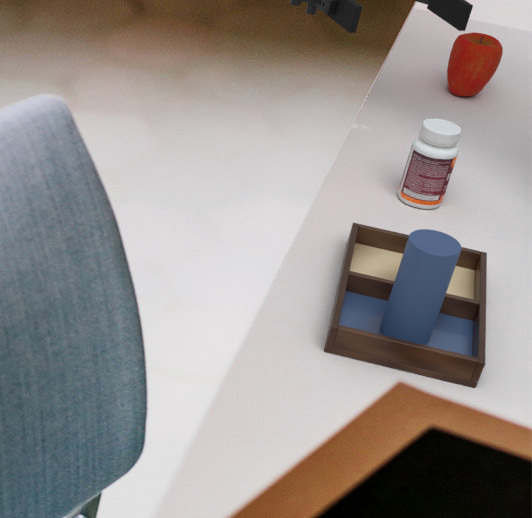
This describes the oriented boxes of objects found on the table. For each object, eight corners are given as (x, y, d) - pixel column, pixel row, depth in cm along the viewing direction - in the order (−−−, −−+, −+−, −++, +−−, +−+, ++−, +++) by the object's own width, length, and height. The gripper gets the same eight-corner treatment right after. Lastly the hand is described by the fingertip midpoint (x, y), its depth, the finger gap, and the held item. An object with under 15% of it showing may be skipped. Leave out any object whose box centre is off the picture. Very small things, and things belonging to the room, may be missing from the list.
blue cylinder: (431, 325, 106) (462, 236, 100) (428, 351, 103) (461, 260, 97) (382, 313, 107) (410, 224, 101) (378, 338, 103) (407, 248, 98)
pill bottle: (447, 211, 126) (472, 137, 121) (404, 209, 125) (427, 134, 120) (433, 190, 130) (456, 117, 124) (391, 187, 129) (413, 114, 124)
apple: (483, 108, 150) (503, 49, 145) (435, 95, 151) (453, 37, 147) (490, 91, 154) (510, 34, 150) (443, 79, 156) (461, 22, 151)
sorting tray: (478, 275, 116) (487, 252, 114) (475, 388, 100) (485, 363, 99) (346, 245, 118) (353, 222, 116) (323, 351, 102) (331, 326, 101)
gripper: (398, -17, 146) (498, 51, 131) (214, -17, 138) (299, 56, 123) (416, -82, 141) (522, -18, 126) (227, -85, 133) (316, -18, 118)
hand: (412, 19), depth 124 cm, fingers open, 13 cm apart
